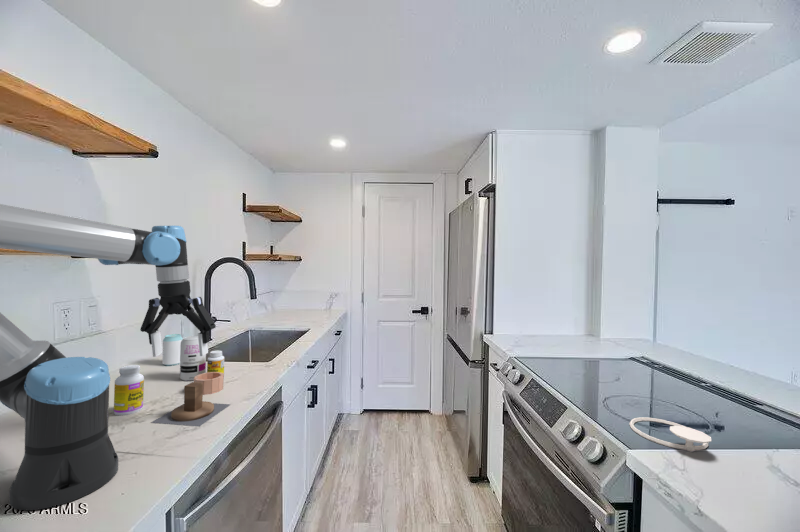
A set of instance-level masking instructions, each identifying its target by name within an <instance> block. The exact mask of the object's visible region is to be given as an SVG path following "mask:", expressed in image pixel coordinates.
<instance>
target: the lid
mask: <svg viewBox="0 0 800 532" xmlns="http://www.w3.org/2000/svg"><path fill="white" fill-rule="evenodd" d="M183 393H184V394H183V395H184V397H183V398H184V399H183V400H184V401H183V404H184V405H183V404H181V405H179V406H177V407H174V408H173V409H172V410H173V411H172V410H171V411H172V412H171V418H172V419H173V420H175V421H192V420H197V419H201V418H204V417H206V416H208V415H210V414H211V413H212V412H213V411H214V404H213V403H214V402H210V401H206V400H203V383H198V382H194V381H193V382H192V381H191V382H189V383H188V384H186V385H184V391H183Z"/></svg>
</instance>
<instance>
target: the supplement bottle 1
mask: <svg viewBox="0 0 800 532" xmlns="http://www.w3.org/2000/svg"><path fill="white" fill-rule="evenodd" d="M140 372H141V365H139V364H129V365H125V366H121V367H119V372H118V373H119V374H120V375H119V376H117V377H116V378H115V380H114V396H113V414H114V416H115V415H116V416H128V415H133V414H136V413H137V412H140V411H142V410H143V408H144V395H145V394H144V391H145V389H144V388H145V387H144V386H145V385H144V384H145V376H144V375H143V374H142V373H140Z"/></svg>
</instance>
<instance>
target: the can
mask: <svg viewBox="0 0 800 532" xmlns="http://www.w3.org/2000/svg"><path fill="white" fill-rule="evenodd" d="M183 338H184V337H182V334H181V333H180V334H179V333H175V334H174V333H173V334H167V335H164V338H163V339H162V352H163V353H162V356H161V357H162V359H161V361H162V362H161V363H162V365H165V366H168V367H171V366H172V365H173V366H178V365H180V364H179V363H180V347H181V341H182V339H183ZM177 364H178V365H177Z"/></svg>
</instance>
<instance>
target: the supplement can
mask: <svg viewBox="0 0 800 532" xmlns="http://www.w3.org/2000/svg"><path fill="white" fill-rule="evenodd" d="M182 338H183V339H182V341H181V347H180V364H179V378H180V379H181V380H182V381H185V382H192V381H193V382H194V377H195V376H197V375H199V374H203V373H207V368H206V367H207V362H206V361H207V354H205V355H203V356H200V351H199V340H198V335H190V336H185V337H182Z"/></svg>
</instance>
